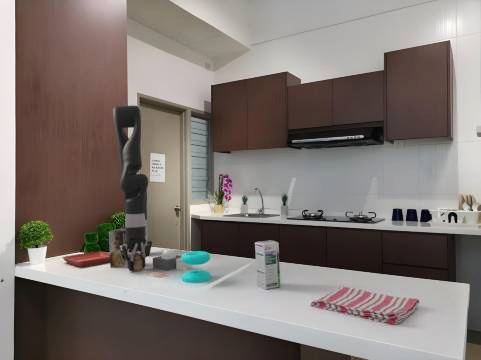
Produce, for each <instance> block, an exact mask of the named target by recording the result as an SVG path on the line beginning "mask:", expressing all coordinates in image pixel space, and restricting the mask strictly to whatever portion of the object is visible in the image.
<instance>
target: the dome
mask: <svg viewBox="0 0 481 360" xmlns="http://www.w3.org/2000/svg"><path fill="white" fill-rule="evenodd" d="M176 255H177V254H176V252H175V250H173V249H171V248H166V249H164V250H163V251H162V252H161V256H162V258H163V259H171V258H176Z"/></svg>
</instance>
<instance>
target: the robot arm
mask: <svg viewBox="0 0 481 360" xmlns="http://www.w3.org/2000/svg"><path fill="white" fill-rule="evenodd" d="M112 109H113V110H112V111H113V112H112V114H113V116H112V117H113V123H114V128H115V133H116V139H117V147H118V148H117V149H118V157H119V165H120V172H121V177H120V180H119V187H120V190H121V191H122V192H123V193H122V195H123V202H124V205H125V220H124V222H125V223H124V224H125V225H124V226H125V228H124V229H126V239H127V240H126V244H124V245H120V246H119V249H120V252H121V255H122V258H123V260H127V261H128V268H127V269H128V272H130V271H134V261H133V258H134V255H135V253H139V254H140V255H141V258H140V259H142V261H143V269H145V267H146V258H147V257H150V254H151V250H152V244H153V241H152V240H149V235H148V233H149V232H148V206H147V205H148V191H147V189H148V187H149V178H148V177H147V175H146V174H143V173H138V172H139V171H140V170H141V169H142V167H143V163H142V162H143V161H142V151H141V144H142V143H141V142H142V141H141V140H142V114H141V109H140V107H139V106H137V105H117V106H114V107H113V108H112ZM131 128H133V129H132V130H133V131H132V133H131V135H130V137H129V136H127V134H126V132H125V130H124V129H131ZM127 247H128V252H127ZM131 252H132V253H131Z"/></svg>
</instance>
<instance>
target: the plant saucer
mask: <svg viewBox="0 0 481 360" xmlns="http://www.w3.org/2000/svg"><path fill="white" fill-rule="evenodd" d="M61 258H62V259H63V260H64V262H66V263H67V264H68V265H71V266H75V267H78V268H84V267H85V268H86V267H91V266H97V265H103V264H107V263H110V252H105V251H94V252H93V251H92V252H87V253H79V254H72V255H66V256H62V257H61Z"/></svg>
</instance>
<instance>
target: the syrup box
mask: <svg viewBox="0 0 481 360" xmlns="http://www.w3.org/2000/svg"><path fill="white" fill-rule="evenodd" d="M279 245H280V244H279V242H278V241H276V240H264V241H256V242H254V249H255V253H254V254H255V271H256V272H255V273H256V275H255V276H256V285H257V287H259V288H262V289H263V290H270V289H274V288H279V287H281V271H280V269H281V267H280V247H279Z"/></svg>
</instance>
